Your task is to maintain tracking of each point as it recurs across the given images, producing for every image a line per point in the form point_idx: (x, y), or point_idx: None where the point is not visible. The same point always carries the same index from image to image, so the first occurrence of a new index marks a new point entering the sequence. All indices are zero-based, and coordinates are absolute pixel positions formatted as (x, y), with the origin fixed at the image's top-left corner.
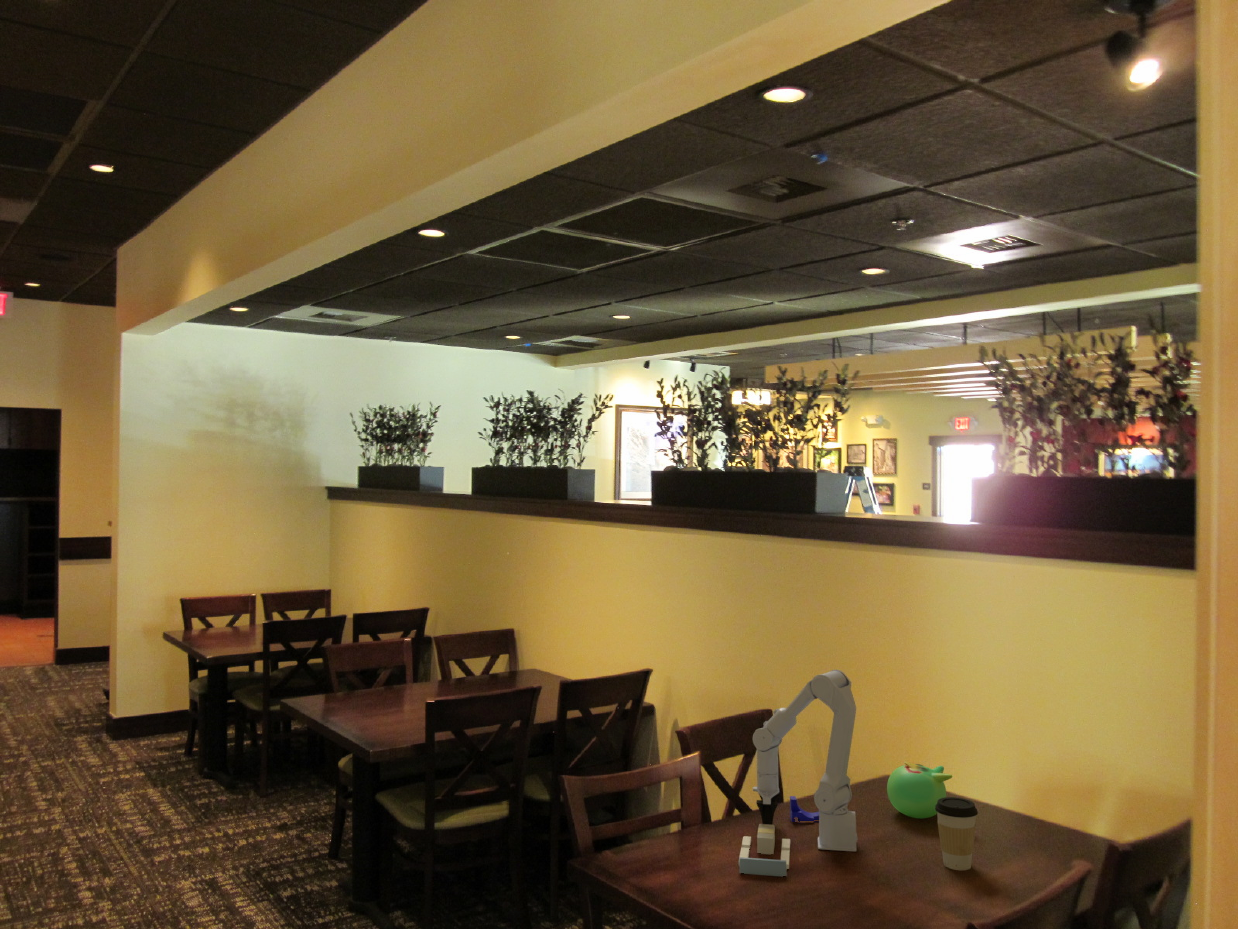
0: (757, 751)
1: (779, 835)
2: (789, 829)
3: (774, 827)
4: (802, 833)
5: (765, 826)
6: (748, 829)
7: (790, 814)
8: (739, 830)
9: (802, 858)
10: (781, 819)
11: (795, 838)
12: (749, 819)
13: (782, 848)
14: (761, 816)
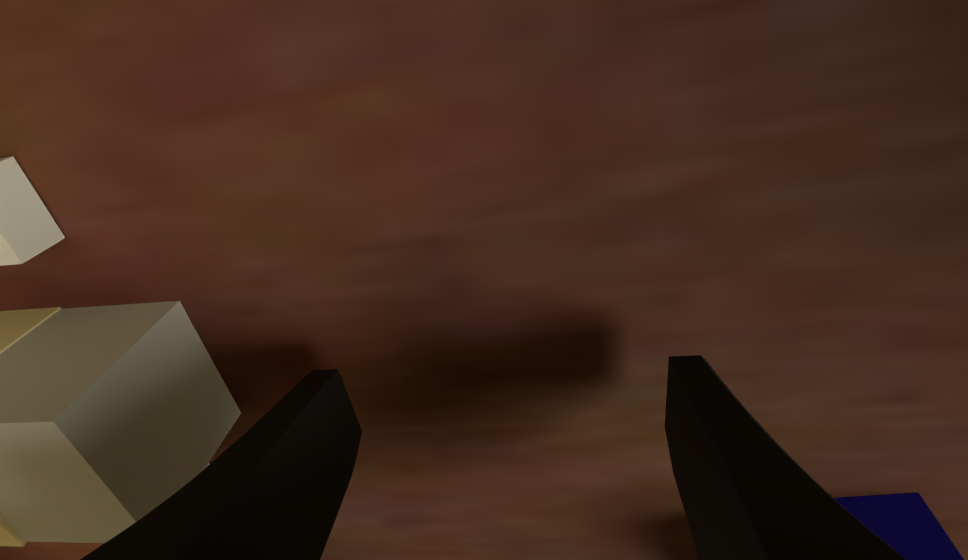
0: None
1: (376, 436)
2: (555, 491)
3: None
4: (491, 554)
5: (34, 482)
6: (417, 145)
7: (909, 530)
8: (324, 24)
9: (58, 546)
10: (849, 434)
11: (366, 522)
12: (864, 83)
13: None
14: (194, 479)
